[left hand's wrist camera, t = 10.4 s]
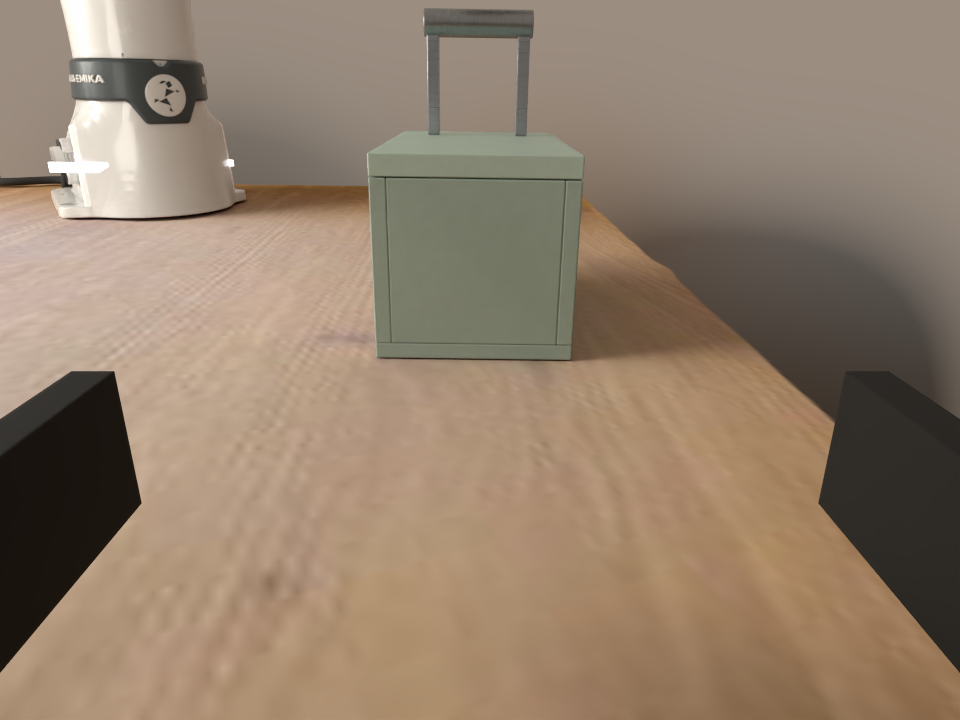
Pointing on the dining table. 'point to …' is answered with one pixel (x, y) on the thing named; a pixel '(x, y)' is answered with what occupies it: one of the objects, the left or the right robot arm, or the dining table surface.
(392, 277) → the chest
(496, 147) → the lid
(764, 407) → the dining table surface
